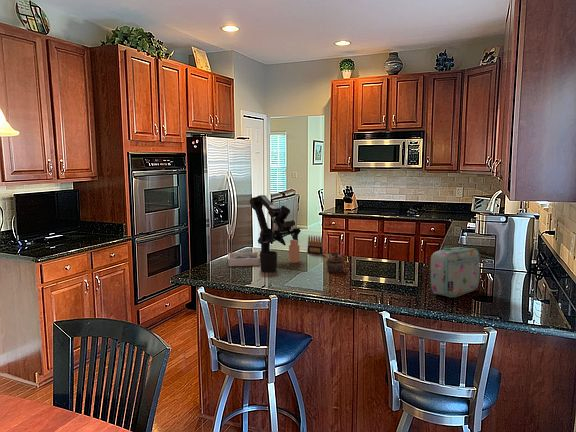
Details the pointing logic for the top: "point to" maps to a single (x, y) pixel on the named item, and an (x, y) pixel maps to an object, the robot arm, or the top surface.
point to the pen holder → (268, 261)
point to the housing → (243, 259)
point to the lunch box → (455, 271)
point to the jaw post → (293, 251)
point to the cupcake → (334, 262)
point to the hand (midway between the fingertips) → (291, 244)
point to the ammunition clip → (315, 245)
